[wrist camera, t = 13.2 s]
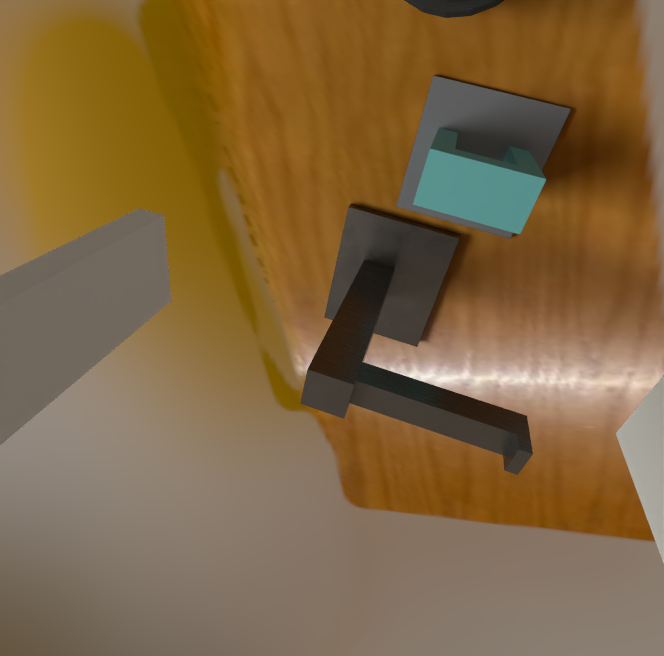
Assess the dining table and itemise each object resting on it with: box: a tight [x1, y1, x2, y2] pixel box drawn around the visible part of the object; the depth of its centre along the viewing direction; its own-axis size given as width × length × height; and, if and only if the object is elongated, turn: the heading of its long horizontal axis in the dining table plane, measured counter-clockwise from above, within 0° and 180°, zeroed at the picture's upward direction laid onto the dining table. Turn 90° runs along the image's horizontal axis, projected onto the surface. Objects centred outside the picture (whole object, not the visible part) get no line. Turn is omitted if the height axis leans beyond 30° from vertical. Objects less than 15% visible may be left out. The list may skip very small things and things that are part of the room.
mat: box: [396, 76, 571, 238], centre depth 34 cm, size 10×10×1 cm
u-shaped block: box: [413, 128, 546, 234], centre depth 30 cm, size 7×4×9 cm, turn 79°
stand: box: [300, 204, 533, 475], centre depth 33 cm, size 12×16×18 cm
